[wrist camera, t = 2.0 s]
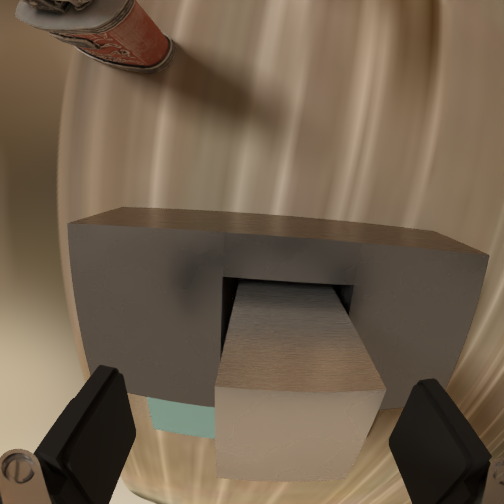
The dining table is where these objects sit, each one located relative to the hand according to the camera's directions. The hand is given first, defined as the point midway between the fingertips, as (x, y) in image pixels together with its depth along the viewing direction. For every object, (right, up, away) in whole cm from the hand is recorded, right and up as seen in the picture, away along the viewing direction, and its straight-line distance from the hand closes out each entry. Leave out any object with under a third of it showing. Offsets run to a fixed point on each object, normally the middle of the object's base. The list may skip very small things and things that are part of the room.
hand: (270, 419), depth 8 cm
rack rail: (+1, +3, +10) cm, 11 cm away
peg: (+1, +3, +10) cm, 11 cm away
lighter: (-9, +19, +7) cm, 22 cm away
